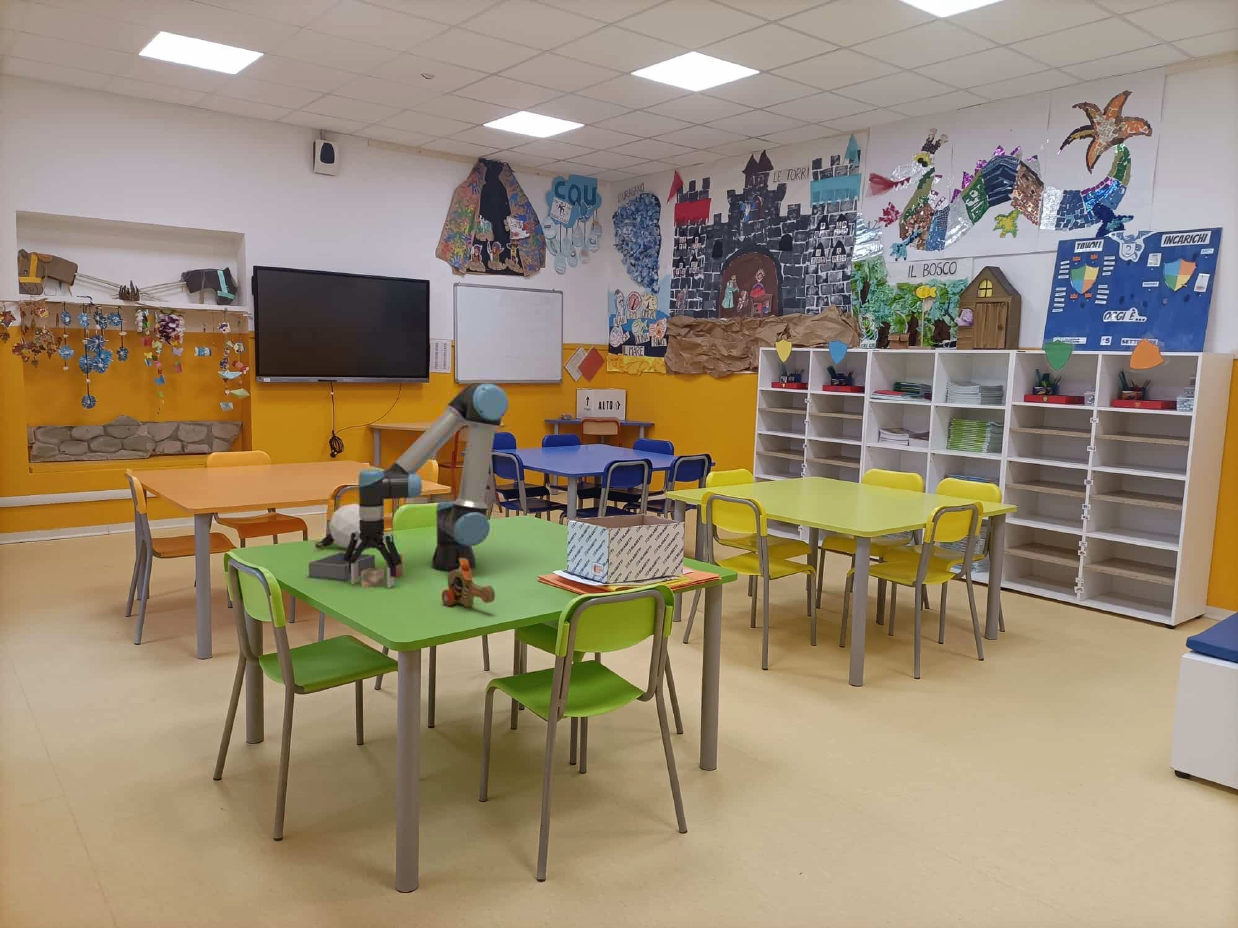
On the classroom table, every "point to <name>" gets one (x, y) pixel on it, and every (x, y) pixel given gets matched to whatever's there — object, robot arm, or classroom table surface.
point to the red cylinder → (398, 568)
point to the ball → (342, 526)
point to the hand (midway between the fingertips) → (372, 584)
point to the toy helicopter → (465, 587)
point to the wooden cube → (372, 577)
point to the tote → (338, 566)
